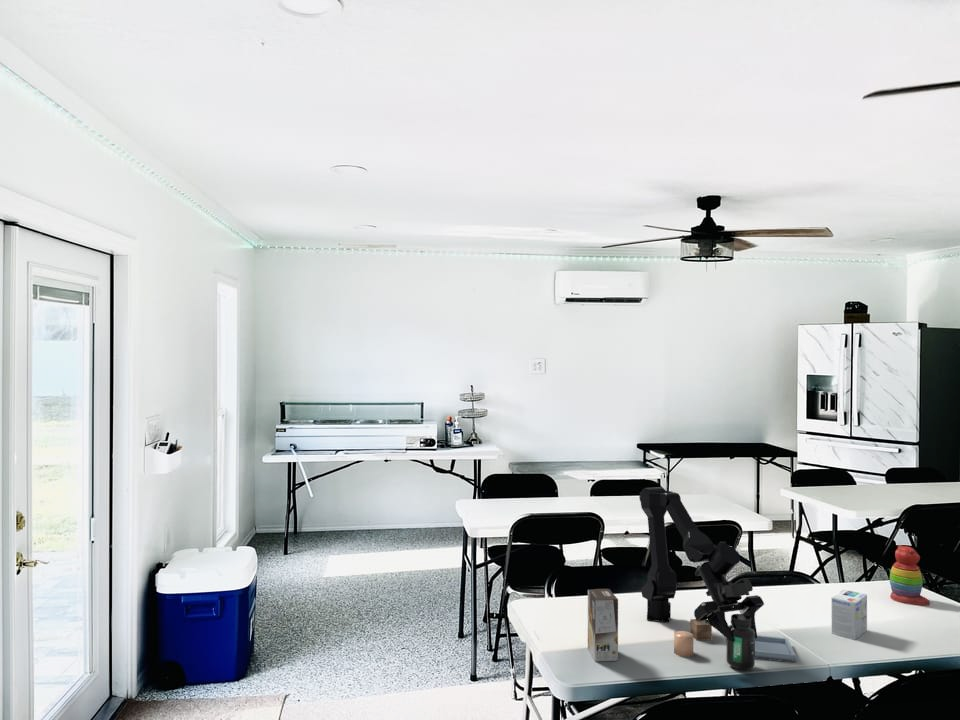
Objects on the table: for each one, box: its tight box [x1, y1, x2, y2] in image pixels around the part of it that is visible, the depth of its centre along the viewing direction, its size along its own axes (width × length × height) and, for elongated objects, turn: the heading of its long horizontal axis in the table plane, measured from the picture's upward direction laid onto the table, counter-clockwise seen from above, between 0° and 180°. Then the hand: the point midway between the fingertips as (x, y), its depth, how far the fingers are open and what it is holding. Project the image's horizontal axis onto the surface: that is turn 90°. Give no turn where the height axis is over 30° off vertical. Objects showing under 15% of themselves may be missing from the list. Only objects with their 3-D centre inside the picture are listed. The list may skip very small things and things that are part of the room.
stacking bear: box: [889, 544, 931, 606], centre depth 229 cm, size 11×10×18 cm
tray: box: [755, 634, 796, 663], centre depth 187 cm, size 12×12×2 cm
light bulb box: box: [831, 589, 868, 641], centre depth 200 cm, size 11×7×11 cm, turn 134°
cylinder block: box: [673, 630, 695, 658], centre depth 185 cm, size 5×5×5 cm
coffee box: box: [587, 588, 619, 662], centre depth 183 cm, size 9×6×16 cm
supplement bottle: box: [725, 613, 756, 670], centre depth 176 cm, size 7×7×12 cm
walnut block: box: [689, 618, 713, 641], centre depth 196 cm, size 4×4×4 cm
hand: (744, 640), depth 175 cm, fingers closed on supplement bottle, 7 cm apart
